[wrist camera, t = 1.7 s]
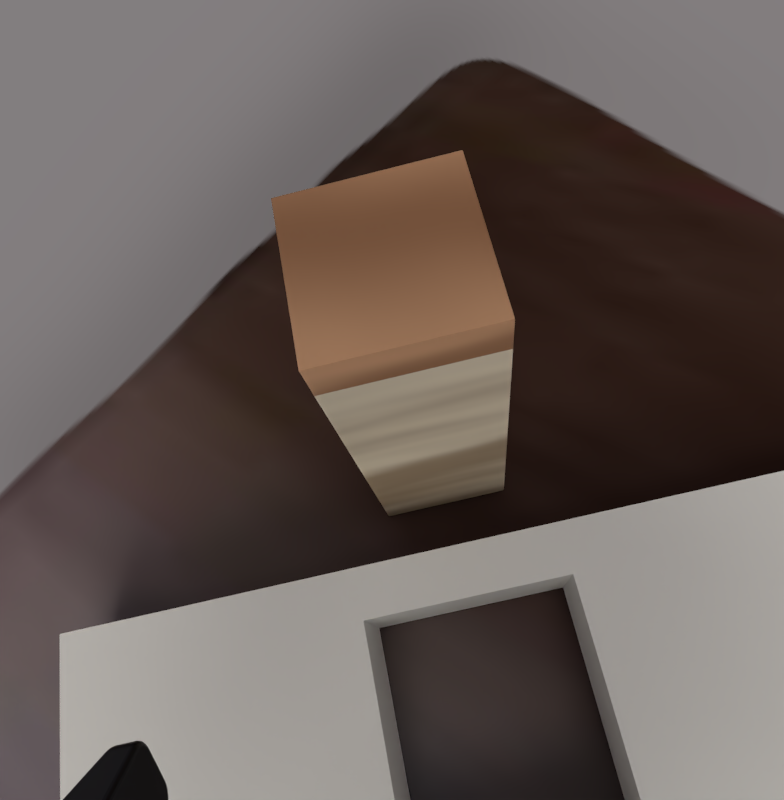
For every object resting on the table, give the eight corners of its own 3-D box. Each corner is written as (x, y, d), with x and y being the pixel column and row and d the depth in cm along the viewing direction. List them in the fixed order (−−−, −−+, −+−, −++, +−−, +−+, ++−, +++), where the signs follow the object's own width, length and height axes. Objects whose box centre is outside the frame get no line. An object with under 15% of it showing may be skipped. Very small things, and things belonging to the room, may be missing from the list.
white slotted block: (974, 795, 18) (1059, 815, 16) (121, 967, 20) (60, 1013, 17) (825, 479, 22) (873, 450, 19) (111, 639, 23) (59, 634, 20)
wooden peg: (503, 490, 23) (515, 319, 12) (388, 516, 24) (298, 371, 12) (475, 385, 25) (462, 149, 14) (367, 410, 25) (271, 198, 14)
